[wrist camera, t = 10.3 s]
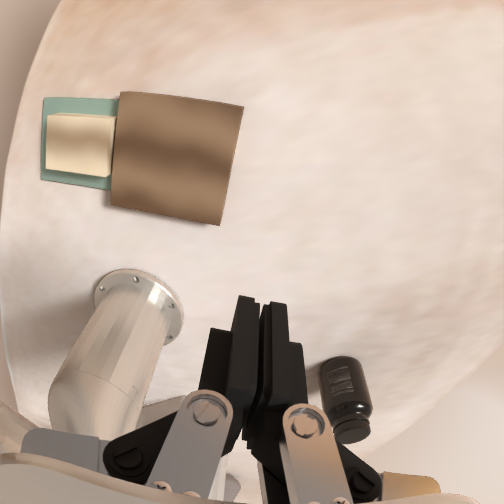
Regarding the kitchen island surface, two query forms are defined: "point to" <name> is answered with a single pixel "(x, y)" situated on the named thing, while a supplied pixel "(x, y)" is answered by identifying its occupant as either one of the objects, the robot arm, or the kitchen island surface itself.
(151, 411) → the grey triangular vase
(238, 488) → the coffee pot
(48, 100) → the rubber mat
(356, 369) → the supplement bottle
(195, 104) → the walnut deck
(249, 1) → the kitchen island surface
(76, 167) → the birch tile
